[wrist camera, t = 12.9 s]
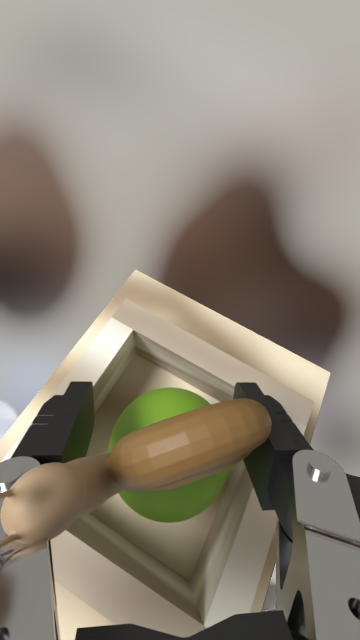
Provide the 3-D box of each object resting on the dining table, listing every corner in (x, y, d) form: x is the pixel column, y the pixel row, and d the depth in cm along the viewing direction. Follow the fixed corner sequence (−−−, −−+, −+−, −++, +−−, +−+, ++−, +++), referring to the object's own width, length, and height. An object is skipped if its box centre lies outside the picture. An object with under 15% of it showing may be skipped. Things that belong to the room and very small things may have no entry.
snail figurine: (86, 424, 15) (-65, 349, 4) (194, 386, 17) (274, 260, 6) (111, 539, 13) (-59, 912, 2) (232, 483, 15) (459, 558, 4)
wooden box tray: (199, 780, 12) (232, 983, 7) (-85, 560, 14) (-197, 611, 9) (322, 376, 20) (372, 354, 16) (136, 277, 22) (133, 232, 18)
